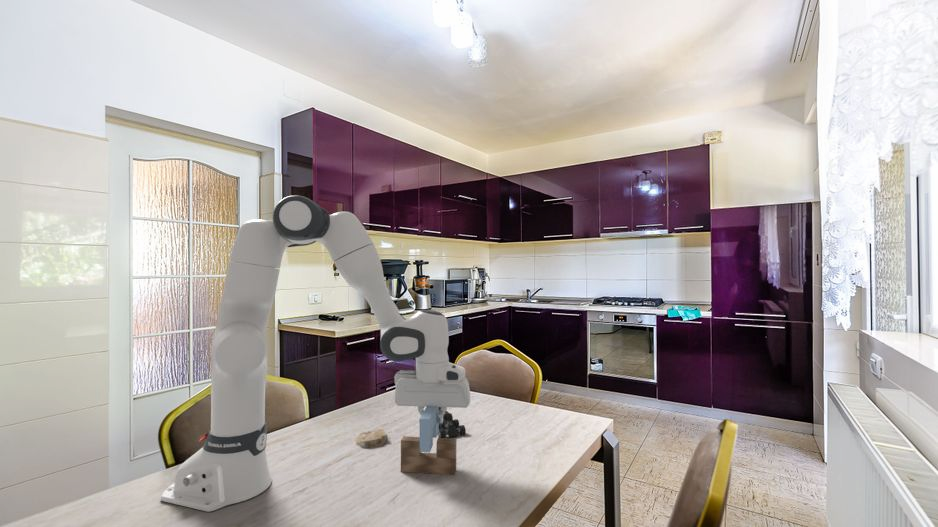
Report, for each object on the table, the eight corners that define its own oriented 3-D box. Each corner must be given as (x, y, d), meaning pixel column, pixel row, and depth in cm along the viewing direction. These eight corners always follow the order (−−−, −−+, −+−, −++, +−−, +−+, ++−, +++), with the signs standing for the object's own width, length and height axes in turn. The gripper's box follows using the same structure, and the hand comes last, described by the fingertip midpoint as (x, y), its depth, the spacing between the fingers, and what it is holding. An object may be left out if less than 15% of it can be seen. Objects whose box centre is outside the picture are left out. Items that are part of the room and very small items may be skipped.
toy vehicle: (449, 421, 139) (449, 396, 139) (466, 436, 125) (465, 408, 125) (426, 425, 135) (426, 399, 136) (441, 441, 122) (441, 411, 122)
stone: (357, 450, 115) (357, 441, 116) (354, 441, 121) (354, 432, 121) (388, 445, 119) (388, 436, 119) (383, 436, 125) (383, 428, 125)
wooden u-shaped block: (400, 471, 102) (400, 440, 103) (403, 467, 105) (403, 436, 105) (455, 474, 101) (455, 442, 101) (456, 469, 103) (456, 438, 104)
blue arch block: (429, 452, 97) (429, 419, 97) (419, 451, 98) (419, 418, 98) (438, 431, 109) (438, 402, 109) (429, 431, 109) (429, 402, 109)
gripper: (391, 372, 105) (391, 425, 105) (468, 374, 103) (468, 428, 103) (397, 366, 112) (398, 416, 112) (470, 368, 110) (471, 419, 109)
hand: (432, 422), depth 107 cm, fingers closed on blue arch block, 2 cm apart
